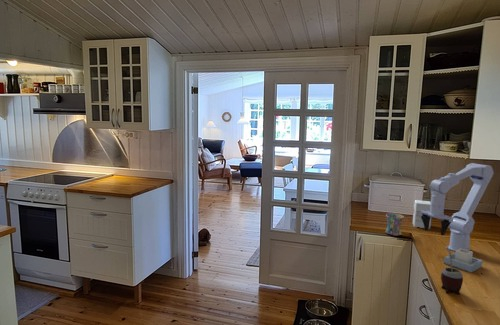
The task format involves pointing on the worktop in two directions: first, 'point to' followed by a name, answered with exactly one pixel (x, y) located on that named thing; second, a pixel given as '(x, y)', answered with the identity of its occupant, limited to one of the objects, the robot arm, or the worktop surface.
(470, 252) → the box
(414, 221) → the supplement box
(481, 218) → the worktop surface
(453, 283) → the mate gourd
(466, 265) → the big crate
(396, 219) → the mug
